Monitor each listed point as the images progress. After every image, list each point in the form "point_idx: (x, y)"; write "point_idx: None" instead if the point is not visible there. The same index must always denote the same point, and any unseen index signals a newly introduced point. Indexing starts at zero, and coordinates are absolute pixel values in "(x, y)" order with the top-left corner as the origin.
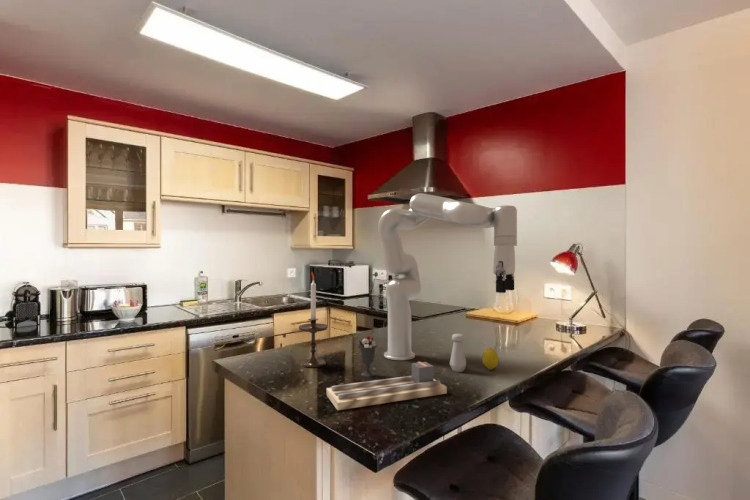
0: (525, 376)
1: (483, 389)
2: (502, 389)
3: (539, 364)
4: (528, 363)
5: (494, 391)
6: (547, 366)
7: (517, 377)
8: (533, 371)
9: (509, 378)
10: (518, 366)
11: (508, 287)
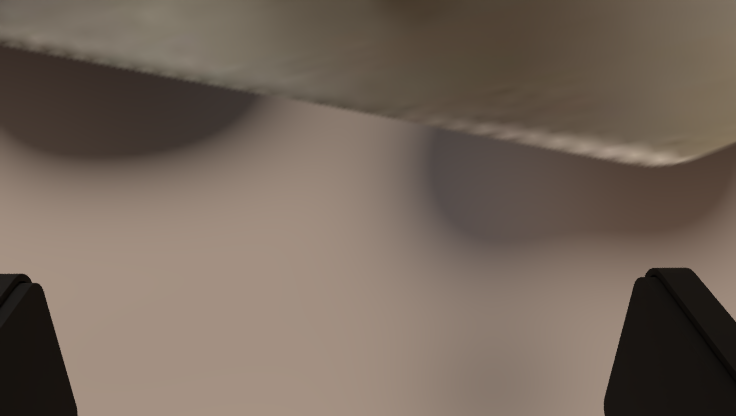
0: (393, 97)
1: None
2: (98, 52)
3: (677, 108)
4: (675, 48)
5: (36, 26)
6: (651, 153)
7: (349, 65)
8: (512, 111)
9: (303, 32)
10: (578, 12)
11: (644, 372)
